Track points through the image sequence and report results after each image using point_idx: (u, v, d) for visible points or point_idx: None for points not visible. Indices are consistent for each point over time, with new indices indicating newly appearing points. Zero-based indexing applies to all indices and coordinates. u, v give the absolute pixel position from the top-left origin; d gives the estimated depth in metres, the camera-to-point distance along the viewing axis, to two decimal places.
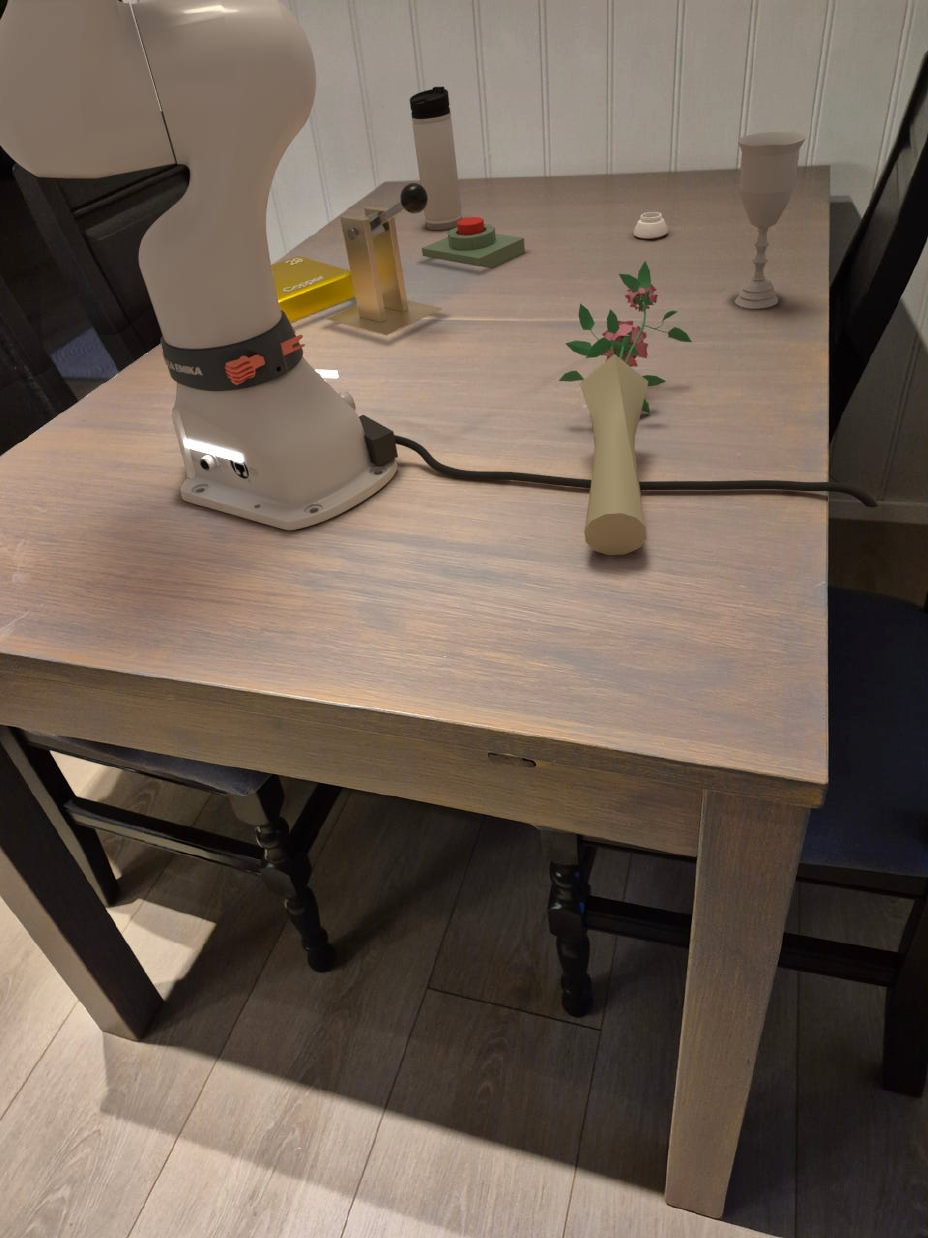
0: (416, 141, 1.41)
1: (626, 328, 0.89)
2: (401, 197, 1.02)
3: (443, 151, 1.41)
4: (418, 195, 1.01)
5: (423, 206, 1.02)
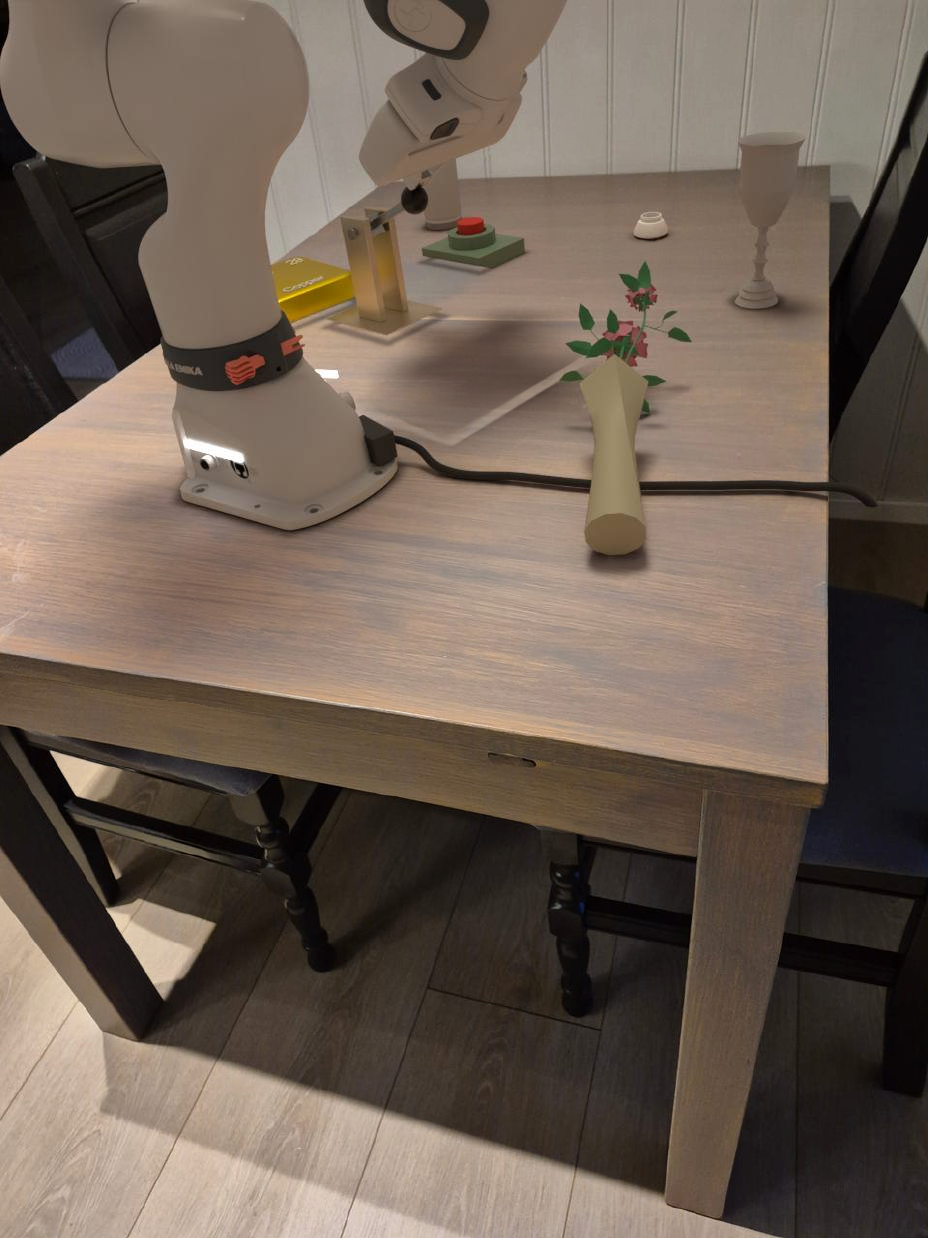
0: None
1: (626, 328, 0.89)
2: (402, 198, 1.02)
3: None
4: (418, 197, 1.01)
5: (423, 207, 1.02)
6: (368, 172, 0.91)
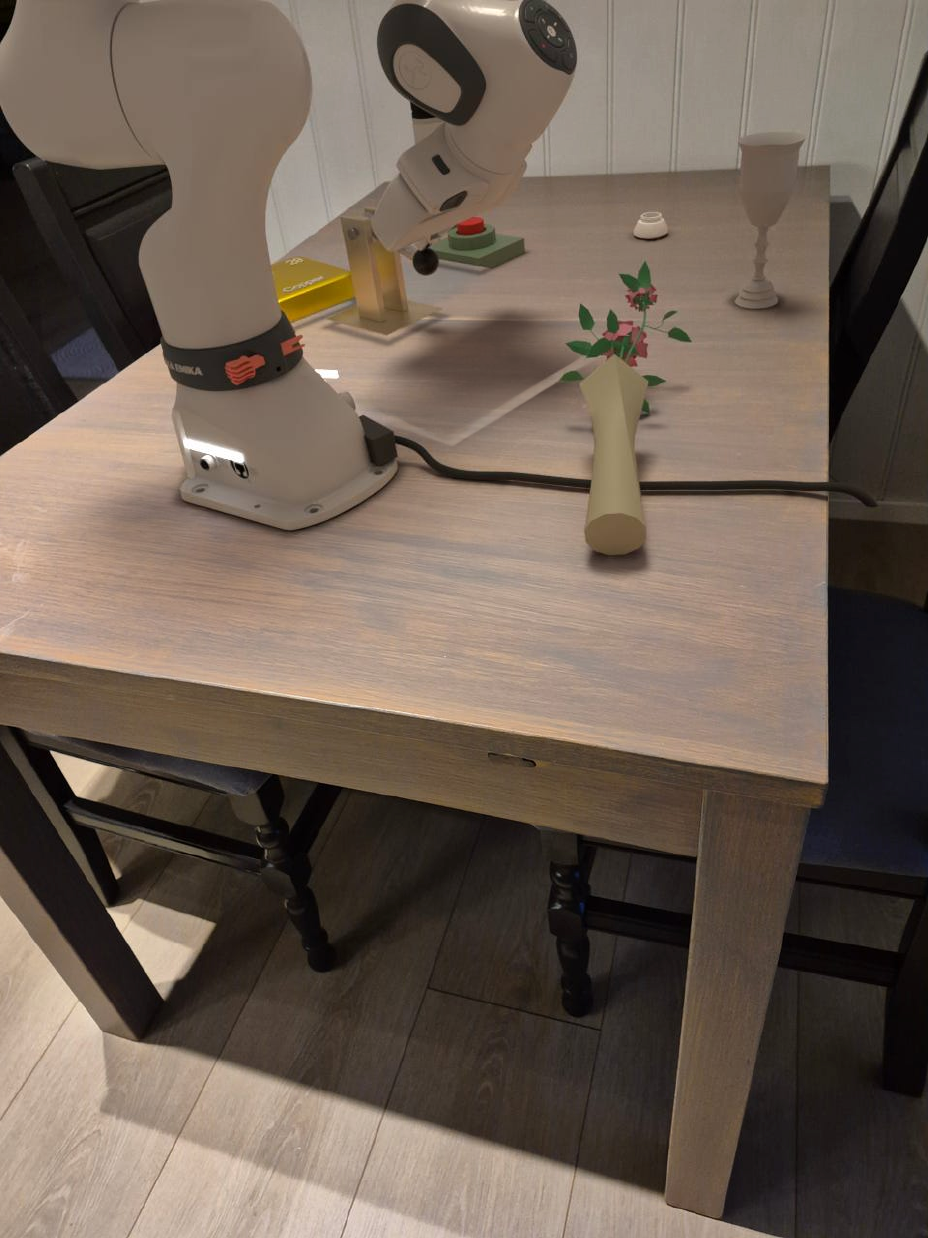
0: (416, 141, 1.41)
1: (626, 328, 0.89)
2: (415, 259, 1.06)
3: None
4: (431, 268, 1.06)
5: (430, 274, 1.07)
6: (380, 239, 0.96)
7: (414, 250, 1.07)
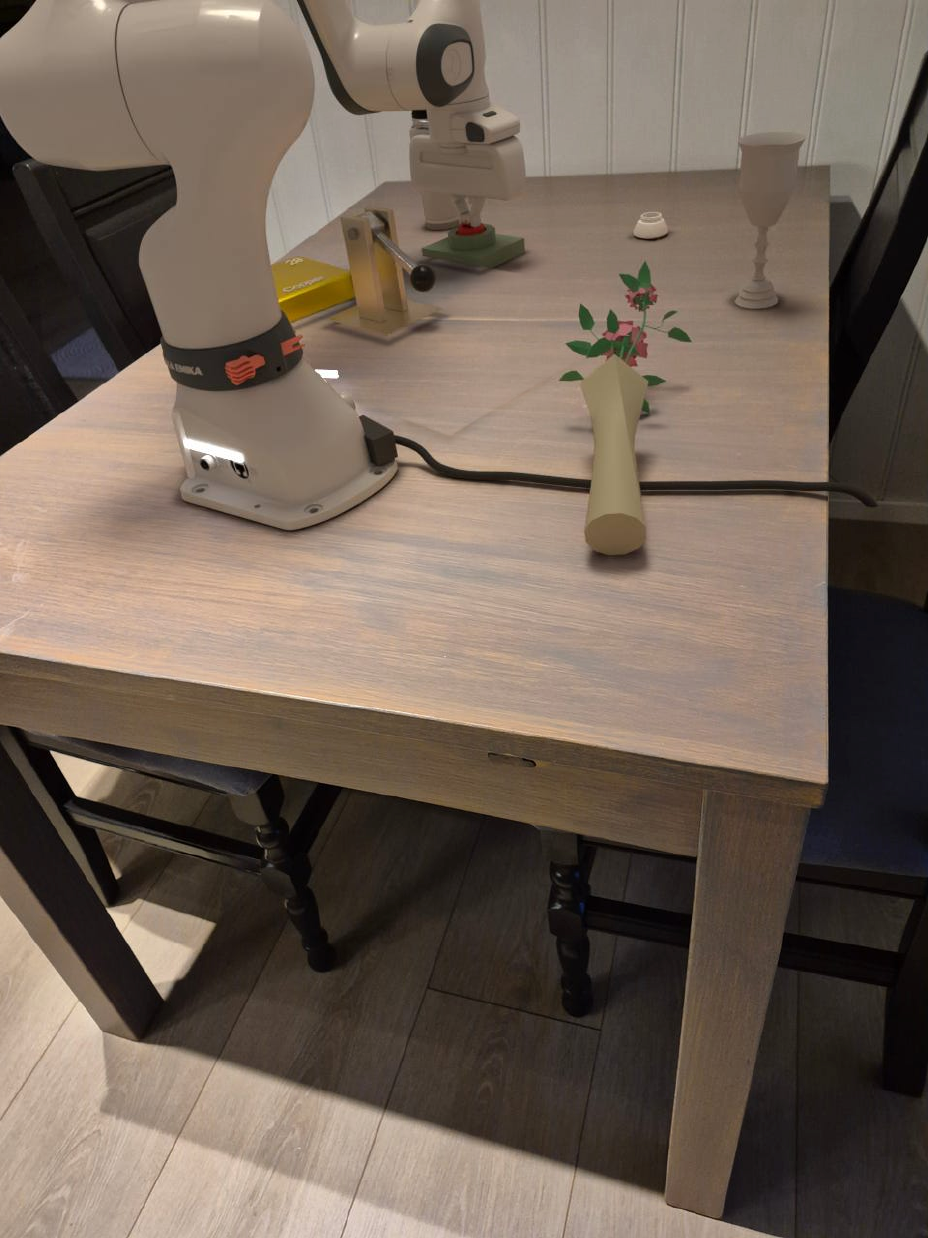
0: None
1: (626, 328, 0.89)
2: (413, 276, 1.08)
3: None
4: (427, 288, 1.08)
5: None
6: (520, 190, 1.23)
7: (413, 264, 1.09)
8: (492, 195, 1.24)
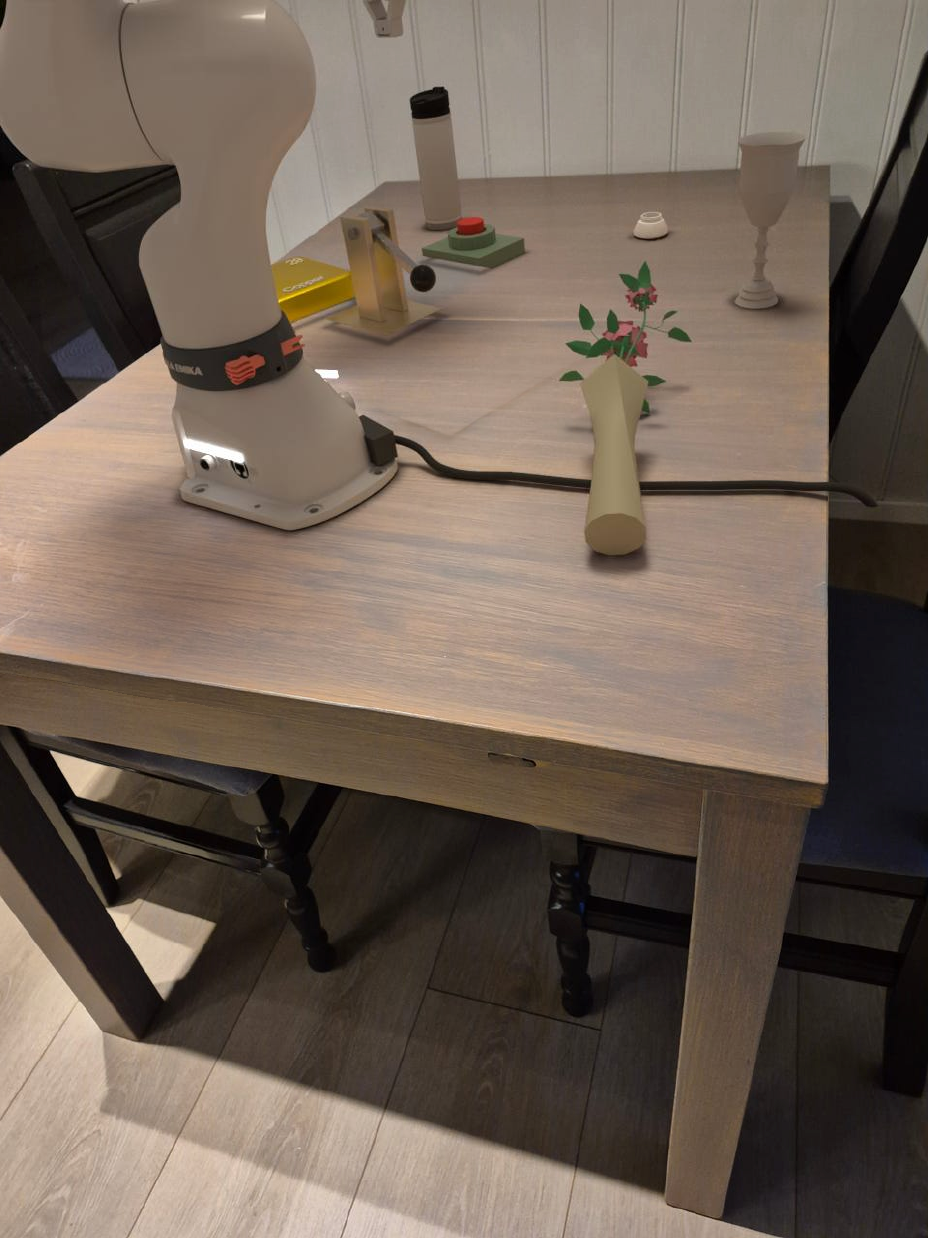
0: (416, 141, 1.41)
1: (626, 328, 0.89)
2: (413, 276, 1.08)
3: (443, 151, 1.41)
4: (427, 288, 1.08)
5: None
6: None
7: (413, 264, 1.09)
8: None
